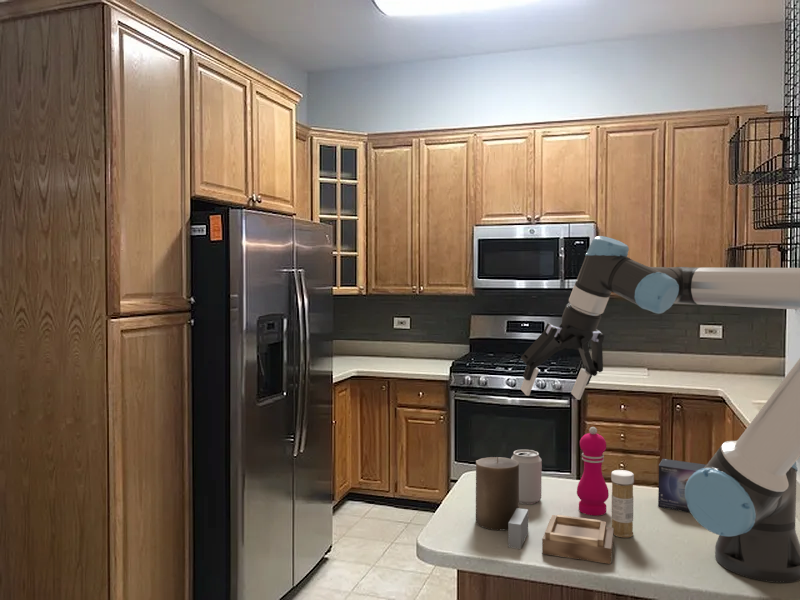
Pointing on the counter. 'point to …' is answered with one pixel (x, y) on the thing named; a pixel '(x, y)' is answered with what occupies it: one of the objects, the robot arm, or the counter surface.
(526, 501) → the can
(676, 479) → the small box
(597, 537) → the socket block
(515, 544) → the backstop wall
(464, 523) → the counter surface
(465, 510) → the counter surface
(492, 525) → the pillar candle
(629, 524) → the sprinkles bottle
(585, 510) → the pepper mill
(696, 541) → the counter surface
